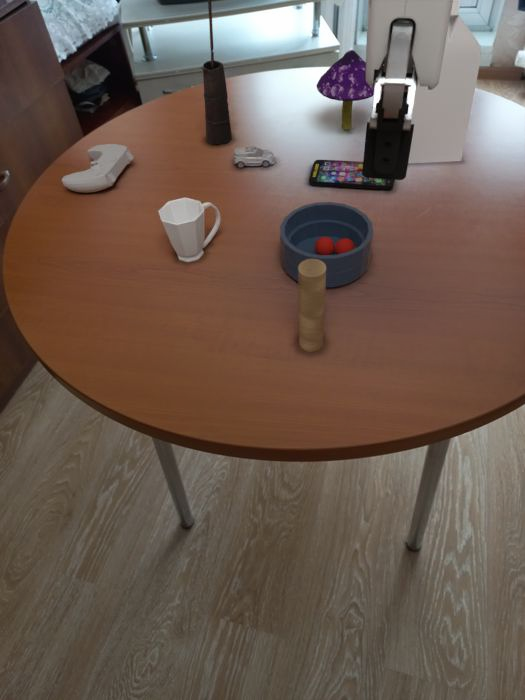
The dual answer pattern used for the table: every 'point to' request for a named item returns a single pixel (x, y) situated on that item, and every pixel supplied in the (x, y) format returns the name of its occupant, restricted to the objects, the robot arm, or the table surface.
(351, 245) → the ball
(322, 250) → the ball
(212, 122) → the butter churn
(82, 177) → the game controller
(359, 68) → the decorative mushroom
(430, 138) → the milk
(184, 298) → the table surface
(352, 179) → the smartphone
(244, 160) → the toy car
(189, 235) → the cup
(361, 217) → the bowl
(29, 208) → the table surface
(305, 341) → the stick
